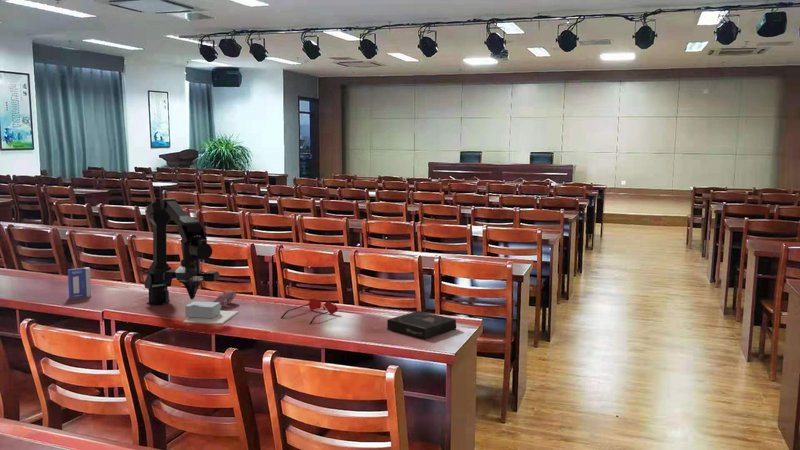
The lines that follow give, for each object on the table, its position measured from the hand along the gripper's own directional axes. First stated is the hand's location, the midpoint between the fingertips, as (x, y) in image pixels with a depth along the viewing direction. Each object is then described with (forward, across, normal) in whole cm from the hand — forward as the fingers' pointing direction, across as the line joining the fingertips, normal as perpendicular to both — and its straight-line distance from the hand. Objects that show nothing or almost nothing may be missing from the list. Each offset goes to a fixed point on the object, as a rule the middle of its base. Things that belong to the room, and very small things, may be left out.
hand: (192, 299), depth 224 cm
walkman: (+7, -57, +22) cm, 62 cm away
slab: (+4, -1, 0) cm, 4 cm away
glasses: (+7, +41, +7) cm, 43 cm away
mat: (+6, +7, 0) cm, 10 cm away
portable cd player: (+7, +83, -4) cm, 83 cm away
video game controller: (+7, +5, +18) cm, 20 cm away
